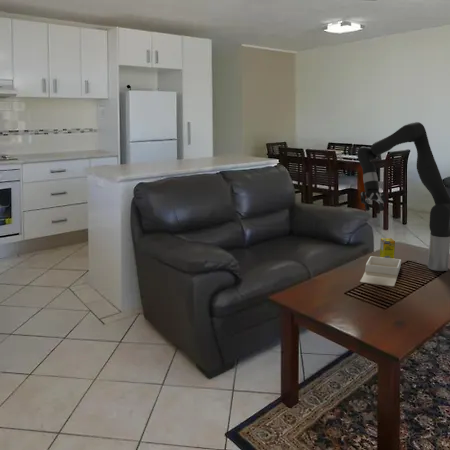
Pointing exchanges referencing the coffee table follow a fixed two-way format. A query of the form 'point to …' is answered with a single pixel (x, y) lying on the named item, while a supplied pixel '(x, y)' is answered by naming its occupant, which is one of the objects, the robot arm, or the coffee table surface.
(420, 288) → the coffee table surface
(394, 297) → the coffee table surface
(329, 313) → the coffee table surface
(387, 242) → the supplement box
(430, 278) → the coffee table surface
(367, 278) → the box
